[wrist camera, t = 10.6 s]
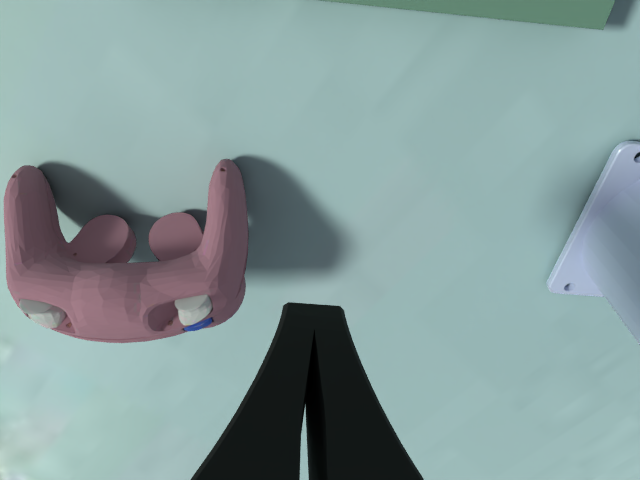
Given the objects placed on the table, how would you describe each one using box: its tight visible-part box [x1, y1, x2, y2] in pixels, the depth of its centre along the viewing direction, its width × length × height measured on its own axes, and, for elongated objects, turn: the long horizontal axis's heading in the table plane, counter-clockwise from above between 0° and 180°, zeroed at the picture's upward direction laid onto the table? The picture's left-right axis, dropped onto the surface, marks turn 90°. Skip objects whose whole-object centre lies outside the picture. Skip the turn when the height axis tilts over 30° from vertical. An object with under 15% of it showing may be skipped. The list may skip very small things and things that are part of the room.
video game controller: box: [4, 159, 248, 343], centre depth 19 cm, size 10×5×7 cm, turn 92°
